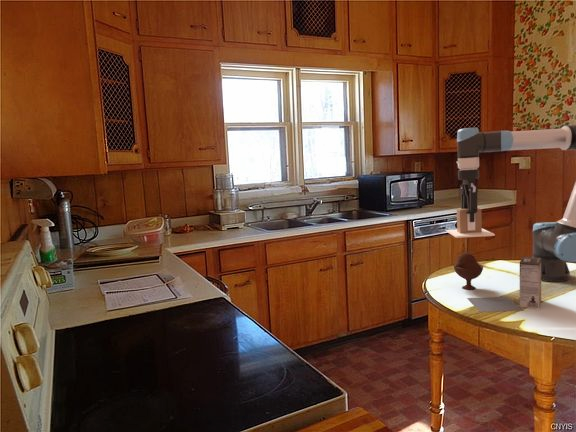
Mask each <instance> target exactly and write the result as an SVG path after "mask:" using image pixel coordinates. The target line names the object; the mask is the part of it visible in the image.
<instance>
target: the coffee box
mask: <svg viewBox="0 0 576 432" xmlns="http://www.w3.org/2000/svg"><path fill="white" fill-rule="evenodd" d="M541 266H542V258H533V257H532V256H531V257H529V256H523V257H521V258H520V260H519V307H520V308H529V309H531V308H532V309H537V310H538V309H541V305H542V280H541Z"/></svg>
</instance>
